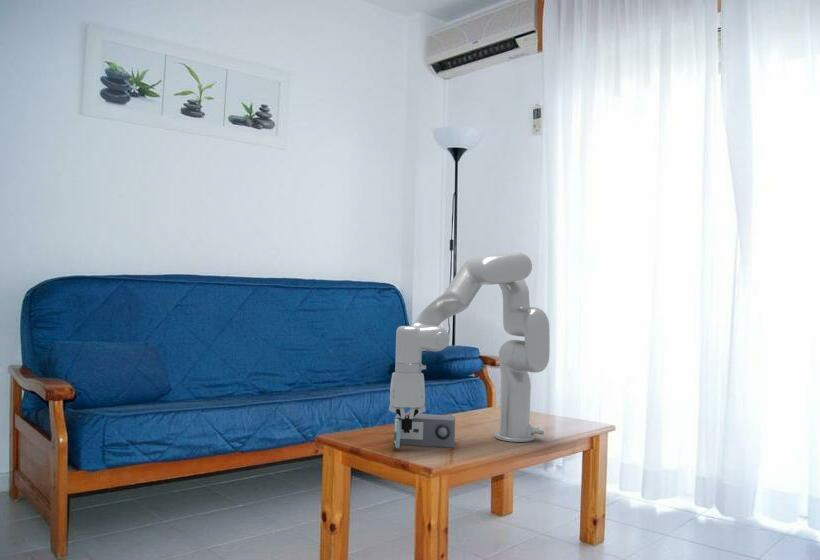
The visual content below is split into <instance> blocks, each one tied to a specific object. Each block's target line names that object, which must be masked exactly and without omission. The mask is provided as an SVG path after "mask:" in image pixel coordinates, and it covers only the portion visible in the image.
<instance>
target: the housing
mask: <svg viewBox="0 0 820 560" xmlns="http://www.w3.org/2000/svg"><path fill="white" fill-rule="evenodd" d="M405 415H406V418H408V415H409V413H407V412H405ZM395 419H398V420H399V422H400V446H401V445H403V446H404V445H405V446H420V447H421V446H422V447H437V448H438V447H439V448H455V440H456V439H455V436H456V415H446V414H429V413H428V414H427V413H423V414H416V415H415V416H414V417H413V419H412V430H410V433H404V429H401V426H402V418H401V417H400V416H399V415H398V414H397V413H396V415H395V417H394V420H395ZM394 431H395V423H394V429H393V432H394ZM393 445H395V443H394V442H393Z"/></svg>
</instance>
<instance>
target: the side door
mask: <svg viewBox="0 0 820 560" xmlns="http://www.w3.org/2000/svg"><path fill="white" fill-rule="evenodd" d="M394 424H395V431H394V430H393V444H394V443H395V444H394V447H395V448H396V449H400V448H401V447H400V446H401V444H400V422H399V420H398V419H395V418H394Z"/></svg>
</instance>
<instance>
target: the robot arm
mask: <svg viewBox="0 0 820 560" xmlns="http://www.w3.org/2000/svg"><path fill="white" fill-rule="evenodd" d="M532 262H533V261H532V260H531V259H530V257H529V256H528V255H527V254H526V253H522V252H509V253H507V252H505V253H497V254H493V255H490V256H481V257H478V256H476V257H472V258H469V259H467V260H466V261H465V262H464V263H463V265H462V266H460V268H459V270H458V271H457V273H456V274H455V276H454V277H453V278H452V280H451V281H450V284H449V285H448V287H447V288H446V289H445V291H444V292H443V293H441V295H440V296H438V297H436V299H434V300H433V301H432V302H431V303H429V304H428V305H427V306H426V307H425V308H424V309H423V310H422V311H421V312H420V314H419V315H418V316H417V318H416V319H415V321H414V322H413V323H412V325H400V326H398V327H397V328H396V332H395V334H396V335H395V368H394V372H392V373H391V379H390V387H389V407H388V411H389V412H391V413H395V414H396V415H397V414H398V415H399V416H400V417H401V418H402V426H401V429H404V433H410V430H412V419H413V417H414V416H415V415H416V414H418V413H421V412H422V413H425V412H426V411H427V410H426V406H425V404H426V387H425V386H426V385H425V376H424V373H422V371H424V370H427V365H426V364H423V363H422V353H423V352H422V351H430V352H441V351H443V350H444V349H446V348H447V347H448V345H449V342H450V335H449V333H448V330H446V329H445V328H443V327H442V326H440V324H442V323H443V322H444V321H446V320H447V319H448V318H451V317H454V316H456V315H458V314H461V313H462V312H464V311H466V309H468V307H469V306H470V305H471V303H473V300H474V299H475V297H476V295H477V294H478V292H479V291H480V289H481V288H482V287H483V286H484V285H485V286H486V285H498V286H499V287H500V290H501V295H502V324H503V325H502V326H503V329H504V331H505V333H507V334H508V335H511V336H515V337H522V338H523V337H524V340H520V339H510V340H508V341H505V342H504V343H502V345H501V346H500V348H499V350H498V361H499V367H500V369H499V370H500V397H499V398H500V399H499V401H500V404H499V430H498V431H495V432H494V435H493V436H494V438H495V439H497V440H501V441H505V442H514V443H526V442H527V443H528V442H532V441H534V439H535V435H539V436H540V435H543V436H544V434H545V429H544V428H539V427H534V426H531V423H530V413H531V411H530V410H531V385H532V383H531V379H530V375H529V373H533V374H534V373H542V372H543V371H544V370H545V369H546V368H547V367H548V364H549V361H550V355H551V353H550V352H551V351H550V320H549V317H548V315H547V314H546V313H545V311H544V310H543V309H541V308H539V307H532V306H530V305H531V304H530V292H529V287H528V284H527V282H526V280H525V279H527V278H528V277H529V276H530V274H531V272H532V270H533V263H532ZM528 372H529V373H528ZM415 408H417V409H415ZM405 409H409V415H408V418H406V415H405V413H406V411H405Z"/></svg>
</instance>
